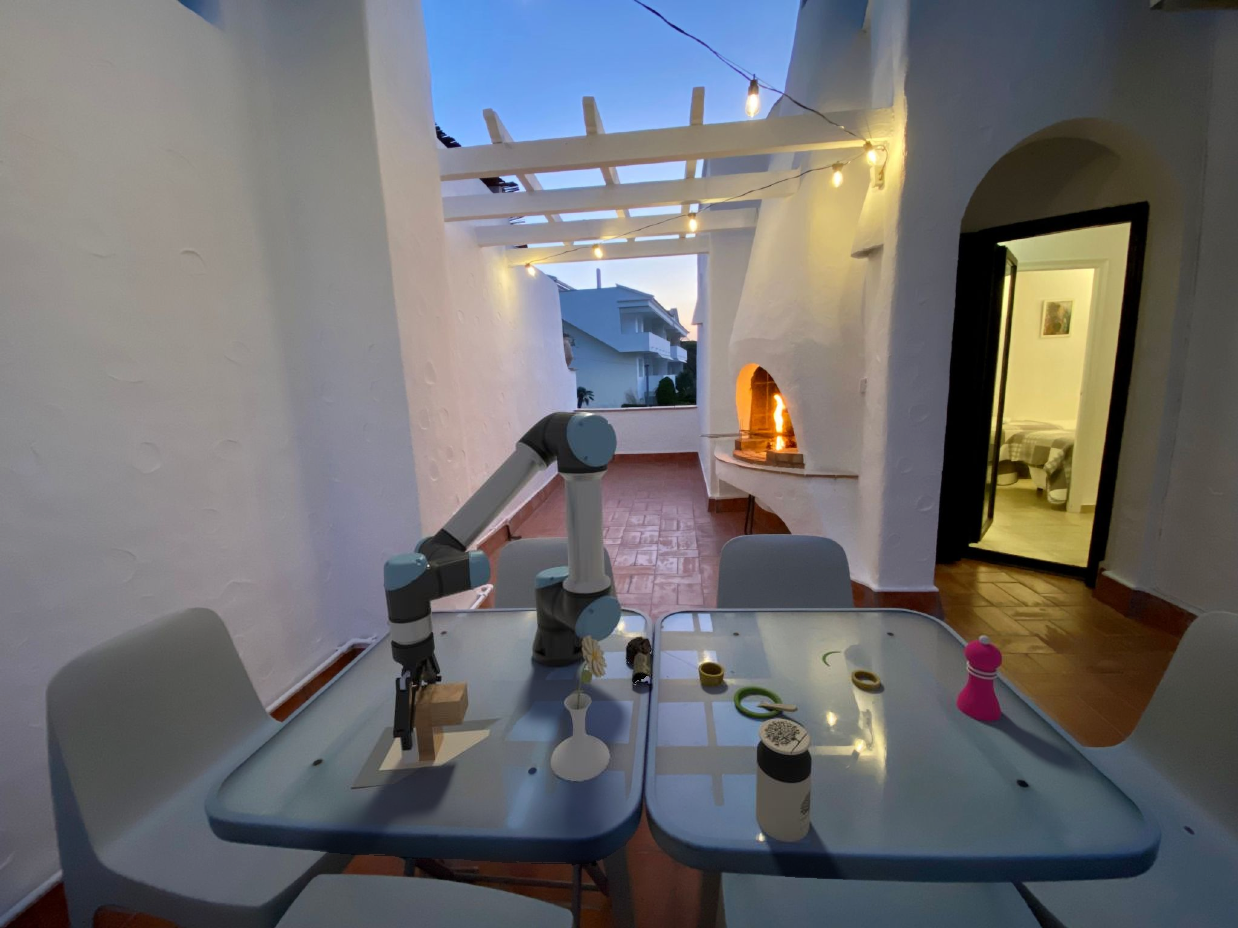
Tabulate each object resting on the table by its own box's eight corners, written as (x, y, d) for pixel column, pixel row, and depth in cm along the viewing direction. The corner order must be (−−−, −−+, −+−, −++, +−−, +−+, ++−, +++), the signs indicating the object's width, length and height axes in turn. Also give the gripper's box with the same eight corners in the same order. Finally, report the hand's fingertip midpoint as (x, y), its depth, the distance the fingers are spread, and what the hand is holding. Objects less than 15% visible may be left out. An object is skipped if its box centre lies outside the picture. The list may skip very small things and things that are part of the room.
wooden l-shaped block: (413, 740, 100) (408, 686, 98) (471, 735, 101) (466, 682, 99) (403, 762, 94) (397, 705, 92) (464, 757, 95) (459, 700, 93)
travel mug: (745, 833, 78) (746, 731, 76) (775, 806, 83) (777, 710, 80) (789, 871, 72) (792, 762, 69) (818, 840, 77) (822, 736, 74)
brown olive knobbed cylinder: (652, 689, 115) (652, 667, 114) (623, 688, 116) (623, 666, 115) (652, 651, 133) (652, 631, 132) (627, 650, 133) (627, 631, 132)
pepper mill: (986, 744, 96) (995, 649, 92) (947, 722, 102) (954, 632, 99) (1006, 731, 99) (1015, 639, 96) (967, 711, 105) (975, 623, 102)
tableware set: (710, 739, 100) (710, 711, 99) (692, 663, 127) (691, 640, 126) (915, 735, 99) (917, 707, 98) (852, 659, 127) (853, 637, 126)
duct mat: (509, 721, 107) (509, 716, 106) (497, 779, 91) (496, 774, 91) (386, 731, 105) (385, 726, 105) (351, 792, 89) (350, 786, 89)
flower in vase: (588, 801, 85) (581, 669, 81) (538, 776, 91) (530, 651, 87) (626, 753, 96) (622, 634, 92) (580, 733, 102) (574, 620, 98)
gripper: (414, 607, 106) (423, 697, 109) (363, 674, 81) (377, 788, 84) (449, 605, 106) (457, 695, 110) (409, 671, 82) (422, 784, 85)
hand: (422, 735), depth 97 cm, fingers open, 13 cm apart
